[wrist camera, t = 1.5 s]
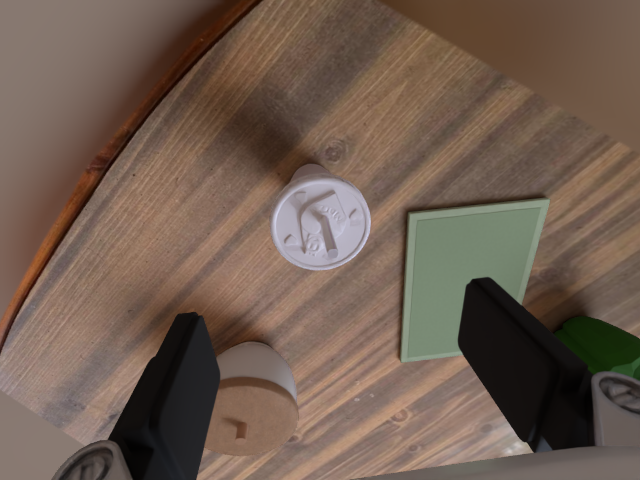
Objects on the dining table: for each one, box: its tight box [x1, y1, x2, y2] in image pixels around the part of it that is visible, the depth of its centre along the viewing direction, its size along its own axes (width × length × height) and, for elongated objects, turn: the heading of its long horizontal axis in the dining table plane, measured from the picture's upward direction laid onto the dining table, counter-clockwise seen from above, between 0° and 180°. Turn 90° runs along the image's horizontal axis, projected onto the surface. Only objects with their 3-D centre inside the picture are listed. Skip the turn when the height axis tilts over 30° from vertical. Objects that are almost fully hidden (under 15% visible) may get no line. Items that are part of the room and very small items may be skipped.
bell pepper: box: [554, 316, 640, 381], centre depth 34 cm, size 8×8×10 cm
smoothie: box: [270, 164, 371, 270], centre depth 21 cm, size 6×6×14 cm
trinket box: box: [204, 342, 299, 456], centre depth 32 cm, size 11×11×9 cm
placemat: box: [400, 198, 550, 363], centre depth 34 cm, size 20×14×1 cm
